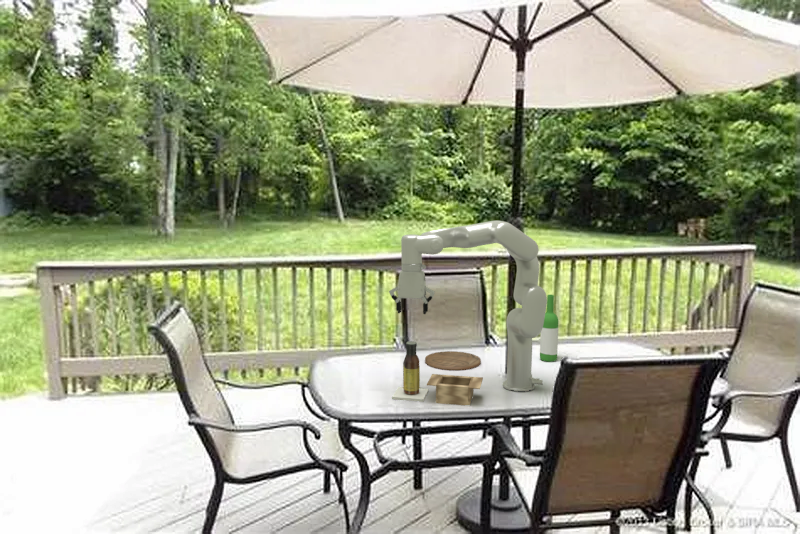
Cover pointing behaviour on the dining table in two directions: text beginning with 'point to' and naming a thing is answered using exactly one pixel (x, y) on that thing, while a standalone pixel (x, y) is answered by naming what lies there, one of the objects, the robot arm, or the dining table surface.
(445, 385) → the carton
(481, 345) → the dining table surface
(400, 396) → the mat
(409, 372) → the sauce bottle
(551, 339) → the wine bottle
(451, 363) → the trivet
